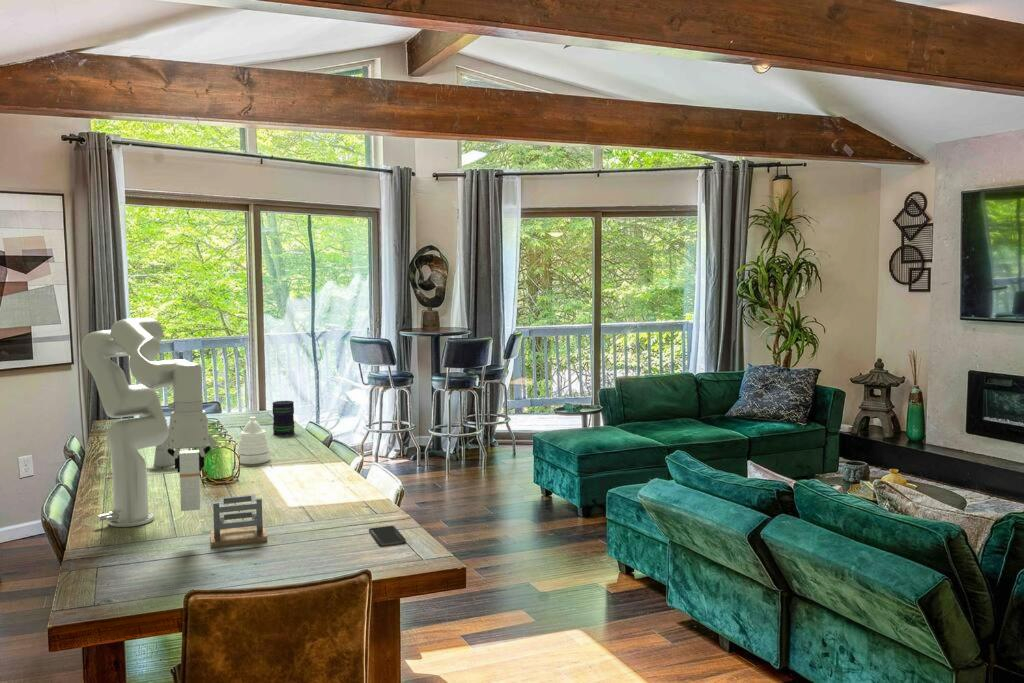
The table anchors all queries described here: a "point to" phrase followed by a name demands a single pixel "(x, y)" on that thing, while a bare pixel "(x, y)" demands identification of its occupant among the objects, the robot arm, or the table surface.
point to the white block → (189, 480)
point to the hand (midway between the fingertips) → (189, 469)
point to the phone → (387, 536)
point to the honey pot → (253, 444)
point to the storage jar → (283, 418)
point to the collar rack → (238, 522)
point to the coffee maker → (163, 456)
